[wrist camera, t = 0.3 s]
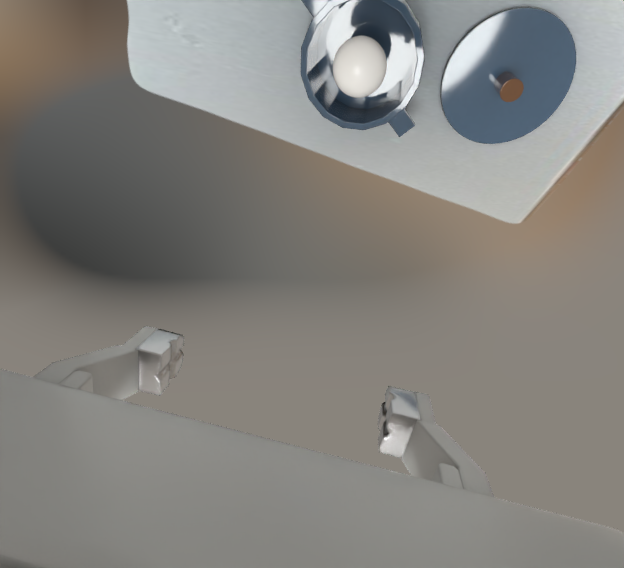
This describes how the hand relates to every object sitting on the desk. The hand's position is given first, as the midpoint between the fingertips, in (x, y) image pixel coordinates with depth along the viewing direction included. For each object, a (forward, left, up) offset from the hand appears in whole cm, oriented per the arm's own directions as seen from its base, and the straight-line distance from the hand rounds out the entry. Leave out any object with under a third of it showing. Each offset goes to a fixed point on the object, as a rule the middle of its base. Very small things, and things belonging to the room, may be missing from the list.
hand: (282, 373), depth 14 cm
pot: (-1, -3, -50) cm, 50 cm away
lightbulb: (-1, -3, -50) cm, 50 cm away
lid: (-13, +11, -49) cm, 52 cm away
